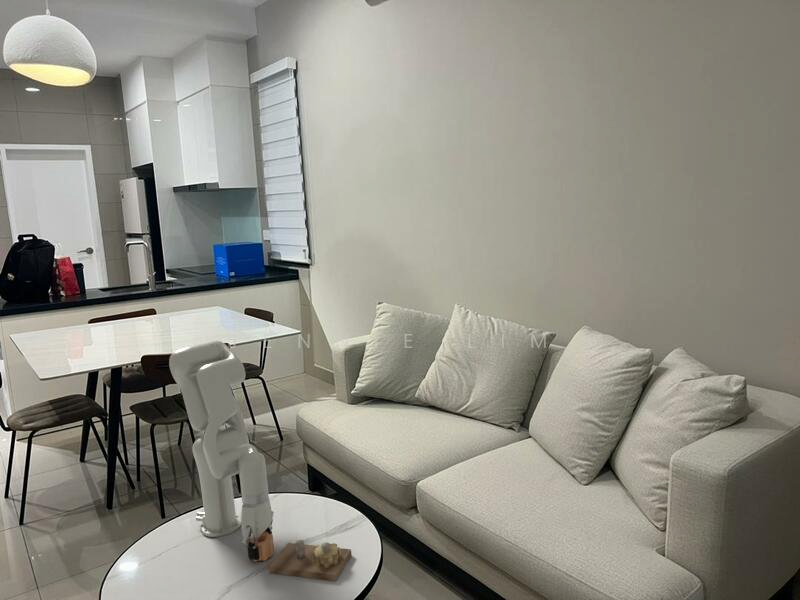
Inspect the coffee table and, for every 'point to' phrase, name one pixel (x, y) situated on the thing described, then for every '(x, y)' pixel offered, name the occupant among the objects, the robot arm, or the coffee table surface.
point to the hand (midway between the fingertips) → (261, 550)
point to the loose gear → (264, 546)
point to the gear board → (311, 561)
